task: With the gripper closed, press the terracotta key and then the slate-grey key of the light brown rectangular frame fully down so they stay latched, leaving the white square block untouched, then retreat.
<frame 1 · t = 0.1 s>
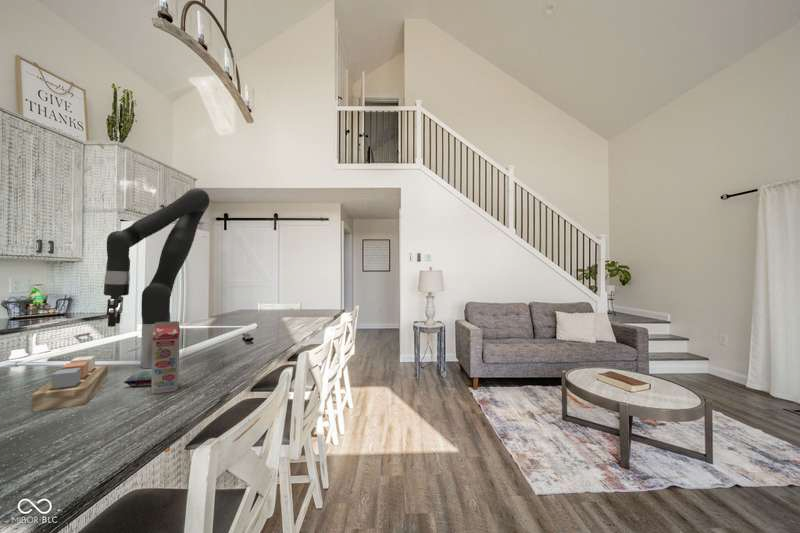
hand: (113, 324, 131), 17 cm above the kitchen island, fingers open, 8 cm apart
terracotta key: (75, 370, 106), point 7 cm above the kitchen island, slide at 0.0 cm
white square block: (83, 364, 113), point 7 cm above the kitchen island, slide at 0.0 cm
slate key: (66, 377, 99), point 7 cm above the kitchen island, slide at 0.0 cm
packaged food: (149, 384, 117), on the kitchen island
light brown rectangular frame: (74, 393, 106), on the kitchen island
juice carton: (165, 389, 111), on the kitchen island
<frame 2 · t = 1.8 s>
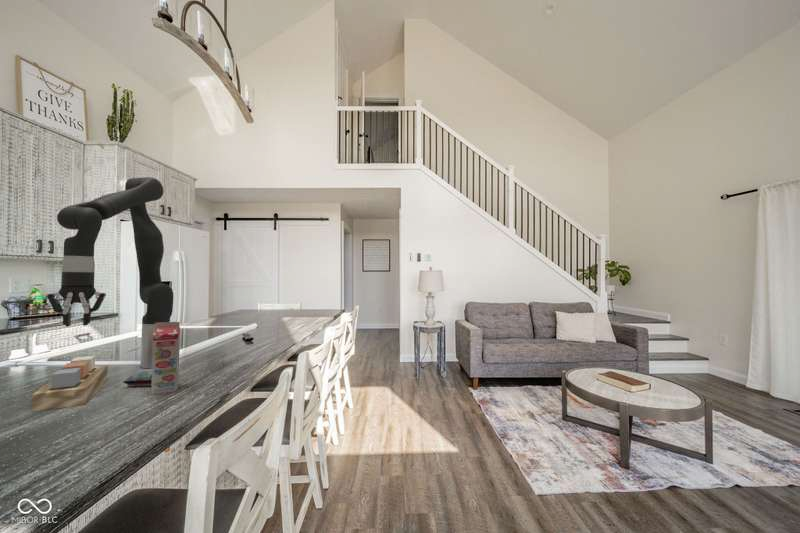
hand: (76, 325, 107), 21 cm above the kitchen island, fingers open, 3 cm apart
nothing on the kitchen island moved.
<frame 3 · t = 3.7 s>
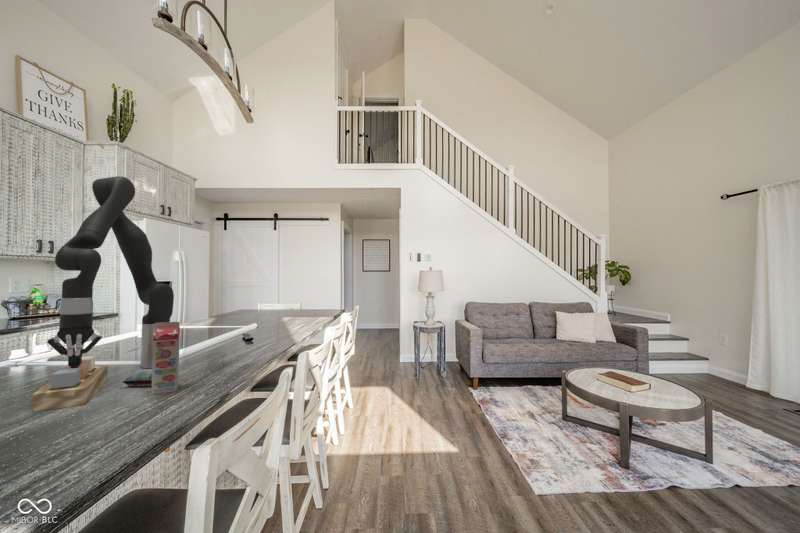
hand: (74, 367, 106), 8 cm above the kitchen island, fingers closed
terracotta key: (75, 373, 106), point 6 cm above the kitchen island, slide at 0.9 cm, touching gripper
everything else where it was.
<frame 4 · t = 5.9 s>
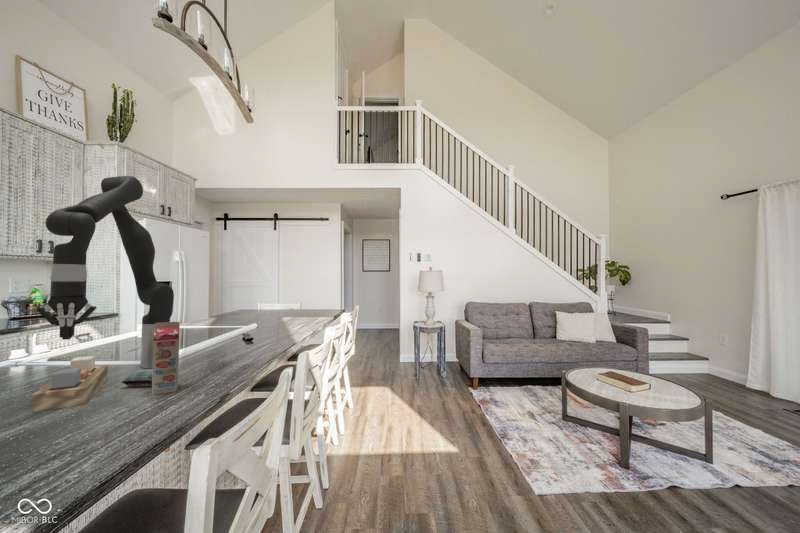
hand: (66, 338, 100), 18 cm above the kitchen island, fingers closed
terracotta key: (75, 378, 106), point 4 cm above the kitchen island, slide at 2.5 cm
everything else where it was.
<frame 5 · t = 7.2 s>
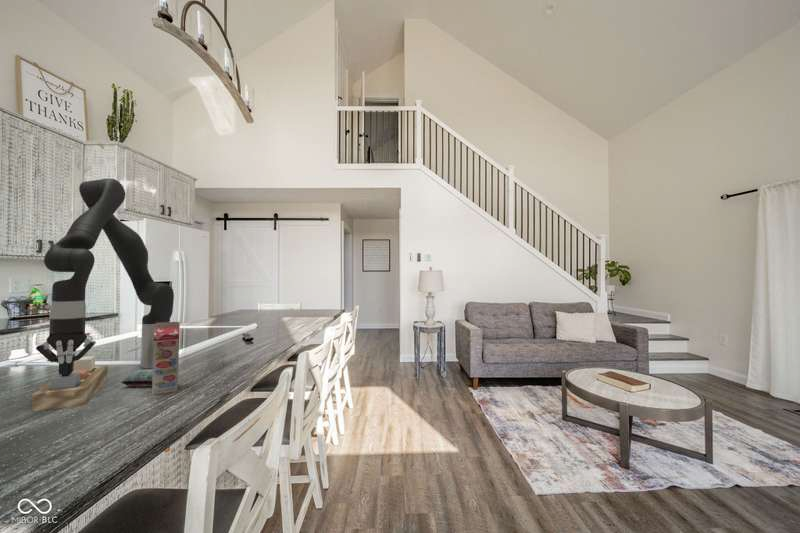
hand: (65, 375, 99), 8 cm above the kitchen island, fingers closed
slate key: (66, 382, 99), point 6 cm above the kitchen island, slide at 1.3 cm, touching gripper
everything else where it was.
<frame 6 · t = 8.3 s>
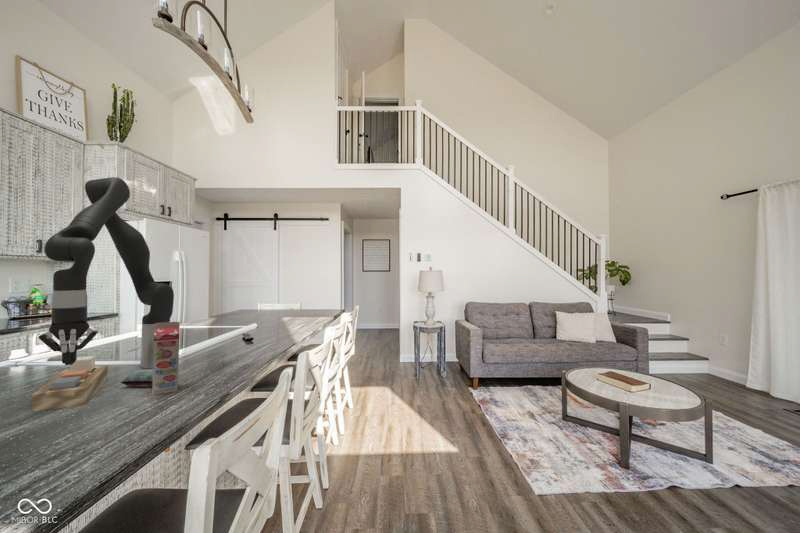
hand: (69, 364, 100), 11 cm above the kitchen island, fingers closed
slate key: (66, 386, 99), point 4 cm above the kitchen island, slide at 2.5 cm
everything else where it was.
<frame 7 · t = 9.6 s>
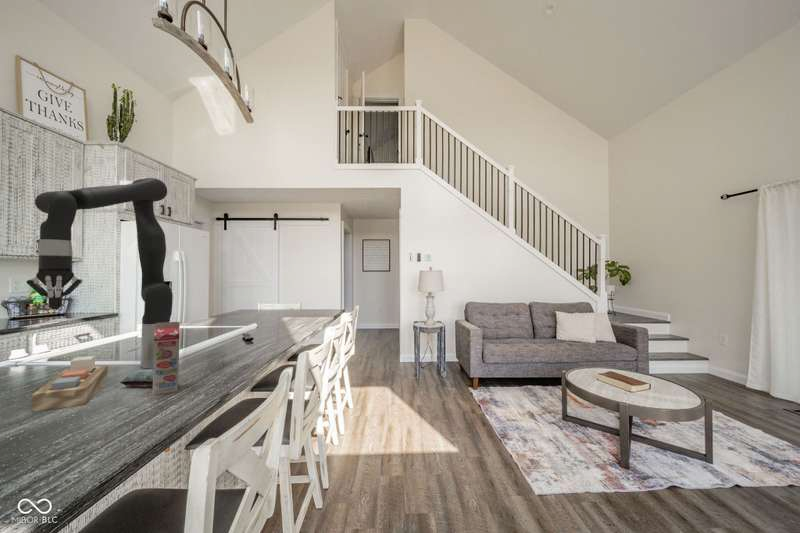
hand: (55, 309, 108), 26 cm above the kitchen island, fingers closed
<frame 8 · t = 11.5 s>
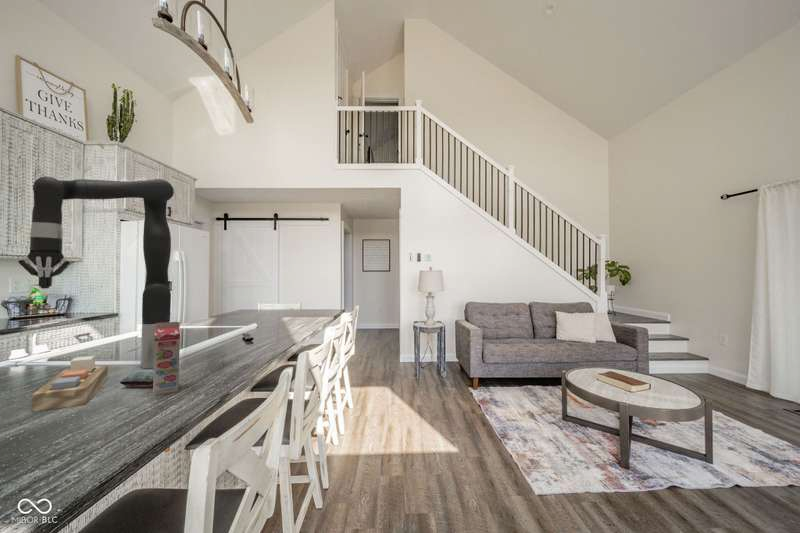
hand: (45, 288, 114), 32 cm above the kitchen island, fingers closed
at the end: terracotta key slide at 2.5 cm; slate key slide at 2.5 cm; white square block slide at 0.0 cm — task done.
